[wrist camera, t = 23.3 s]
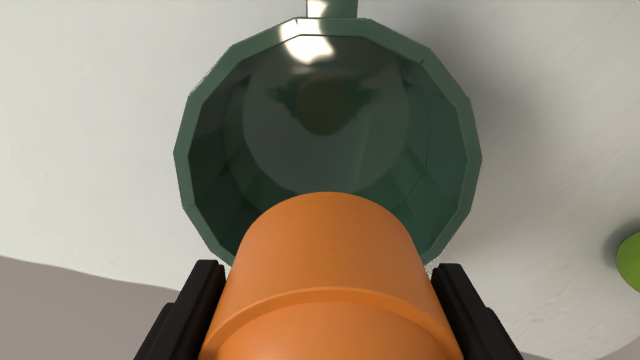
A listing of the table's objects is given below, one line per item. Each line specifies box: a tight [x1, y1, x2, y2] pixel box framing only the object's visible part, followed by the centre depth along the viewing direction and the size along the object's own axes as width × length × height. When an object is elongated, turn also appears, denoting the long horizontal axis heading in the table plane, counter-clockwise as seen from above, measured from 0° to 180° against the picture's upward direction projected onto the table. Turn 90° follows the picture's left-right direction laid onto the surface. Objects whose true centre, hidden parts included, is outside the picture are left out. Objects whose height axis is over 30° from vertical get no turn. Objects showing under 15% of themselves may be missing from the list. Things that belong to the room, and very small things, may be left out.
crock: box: [173, 0, 482, 267], centre depth 22 cm, size 17×22×7 cm
